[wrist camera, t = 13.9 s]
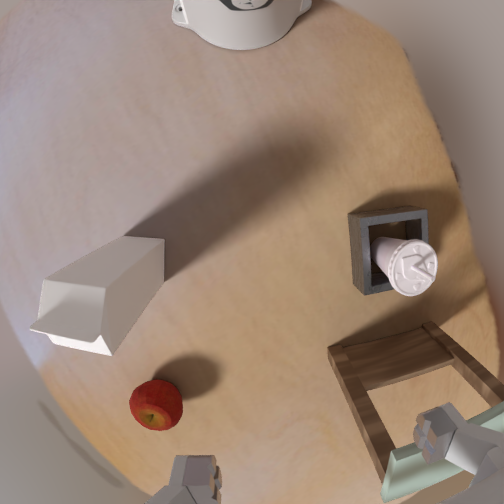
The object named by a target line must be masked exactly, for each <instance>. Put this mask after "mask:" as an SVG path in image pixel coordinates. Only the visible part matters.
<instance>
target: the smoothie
mask: <svg viewBox="0 0 504 504" xmlns="http://www.w3.org/2000/svg"><path fill="white" fill-rule="evenodd" d="M370 256H371V258H372V259H373V260H374V262H375V263H376V264H377V265H378V266H379V267H380V269H381V270H382V271H383V272H384V273H385V274H386V276H387V277H388V278H389V281H390V283H391V285H392V287H393V288H394V289H395V290H396V291H398V292H400V293H401V294H403V295H406V296H415V295H418V294H421V293H422V292H424V291H425V290H426V289H427V288H428V287H429V286H430V285H431V284H432V282H433V281H435V276H436V273H437V268H438V260H437V255H436V253H435V251H434V249H433V248H432V247H431V246H430V245H429V244H427V243H425V242H424V241H422V240H418V239H412V240H401V239H395V238H388V237H379V238H377V239H375V240H374V241H373V243H372V244H371V247H370Z"/></svg>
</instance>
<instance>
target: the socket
mask: <svg viewBox="0 0 504 504" xmlns="http://www.w3.org/2000/svg"><path fill="white" fill-rule="evenodd" d="M398 221H406V240H412V239H418V240H422V241H424V242H425V243H427V244H428V215H427V209H423V208H418V207H414V206H405V207H397V208H389V209H382V210H374V211H366V212H359V213H351V214H348V222H349V234H350V246H351V259H352V275H353V284H354V286H355V287H356V288H357V289H358V290H359V291H360V292H361V293H362V294H363V295H369V294H374V293H379V292H384V291H388V290H393V289H394V288H393V287H392V285H391V283H390V281H389V278H388V277H387V276H386V274H385V273H384V272H383V271H382V272H377V273H372V274H371V262H370V244H369V230H368V226H370V225H377V224H384V223H391V222H398Z"/></svg>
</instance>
